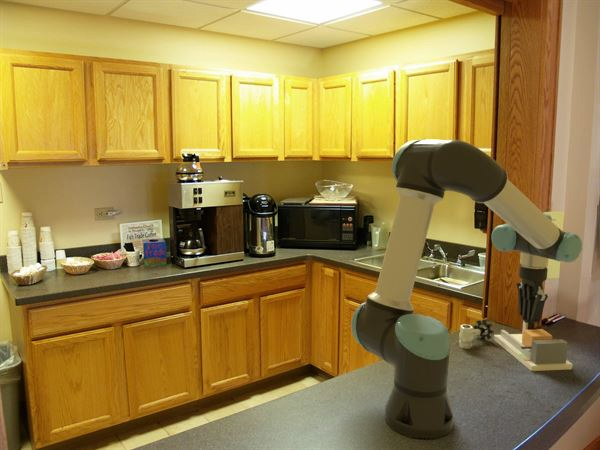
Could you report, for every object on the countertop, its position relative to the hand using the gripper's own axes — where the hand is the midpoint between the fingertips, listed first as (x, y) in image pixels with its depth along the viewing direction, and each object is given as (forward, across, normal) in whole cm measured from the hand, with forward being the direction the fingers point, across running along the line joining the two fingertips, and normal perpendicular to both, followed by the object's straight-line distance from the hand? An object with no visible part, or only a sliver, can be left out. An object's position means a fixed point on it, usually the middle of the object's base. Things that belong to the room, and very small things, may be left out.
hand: (527, 341), depth 151 cm
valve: (+3, +7, +14) cm, 16 cm away
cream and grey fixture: (+3, -2, 0) cm, 4 cm away
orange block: (+1, -5, 0) cm, 5 cm away
